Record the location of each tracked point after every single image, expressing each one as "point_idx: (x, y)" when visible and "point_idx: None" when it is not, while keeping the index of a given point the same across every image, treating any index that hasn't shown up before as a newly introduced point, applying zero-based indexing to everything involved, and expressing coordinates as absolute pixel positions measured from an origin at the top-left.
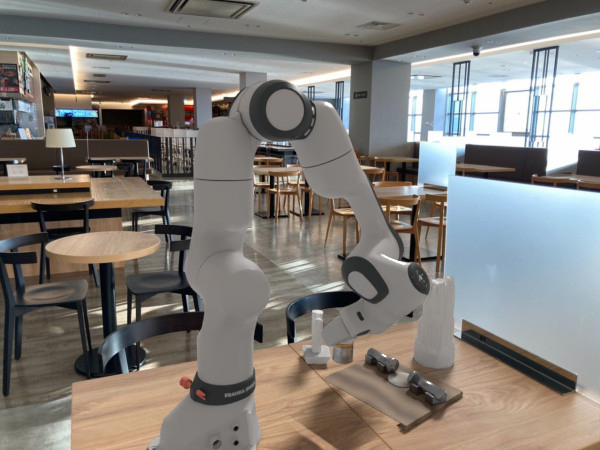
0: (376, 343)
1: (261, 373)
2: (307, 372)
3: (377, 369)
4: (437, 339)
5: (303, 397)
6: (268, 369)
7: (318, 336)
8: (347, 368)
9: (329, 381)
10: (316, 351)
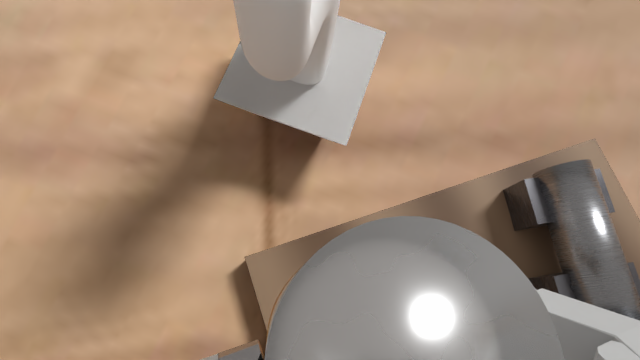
0: (616, 33)
1: (36, 91)
2: (230, 153)
3: (532, 281)
4: None
5: (106, 356)
6: (82, 71)
7: (269, 77)
8: (401, 213)
9: (266, 300)
10: (294, 78)
